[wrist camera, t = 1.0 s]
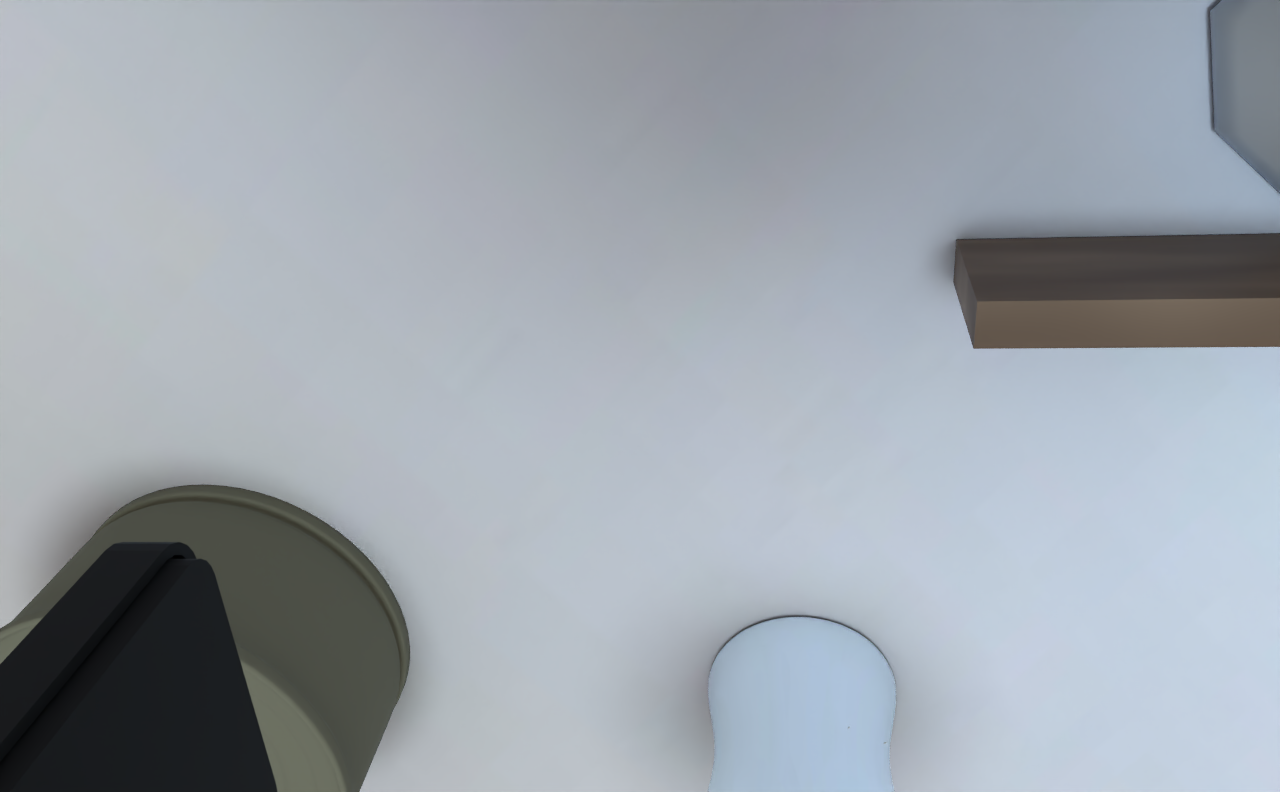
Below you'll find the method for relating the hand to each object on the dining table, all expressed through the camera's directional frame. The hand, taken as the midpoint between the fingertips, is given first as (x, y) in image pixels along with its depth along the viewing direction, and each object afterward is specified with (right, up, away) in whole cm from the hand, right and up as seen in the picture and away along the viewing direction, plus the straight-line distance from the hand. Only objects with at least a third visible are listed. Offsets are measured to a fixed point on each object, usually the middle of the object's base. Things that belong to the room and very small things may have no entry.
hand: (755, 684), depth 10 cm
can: (-14, -5, +30) cm, 34 cm away
